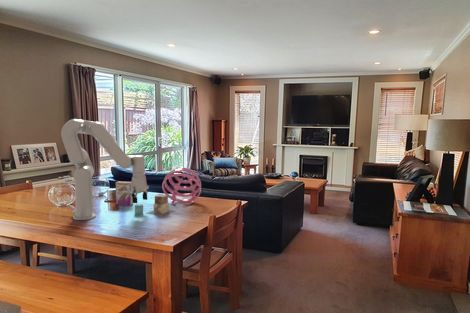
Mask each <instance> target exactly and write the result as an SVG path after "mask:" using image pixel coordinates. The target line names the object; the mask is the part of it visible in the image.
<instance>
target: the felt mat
mask: <svg viewBox="0 0 470 313" xmlns="http://www.w3.org/2000/svg"><path fill="white" fill-rule="evenodd" d="M175 212H176V210H174V209H169V212H166V213H164V214H159V213H154V209H153V210H151V211H148V212H146V213H145V214H148V215H153V216H161V217H165V216H167V215H170V214H172V213H175Z"/></svg>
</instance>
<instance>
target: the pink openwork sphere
mask: <svg viewBox="0 0 470 313" xmlns="http://www.w3.org/2000/svg"><path fill="white" fill-rule="evenodd" d="M183 172H186V173H183ZM187 173H189V174H187ZM173 177H174V178H175V180H176V181H178V182H177V183H176V182H174V180H173ZM180 177H181V178H180ZM184 177H185V178H187V179H184ZM167 180H168V182H169V184H170V185H171V186H172V187H173V188H174V189H172V188H171V187H170V186H169V185H168V183H167ZM193 181H194V182H195V183H194V184H193ZM181 184H190V186H181ZM161 186H162V191H163V193H164V195H168V198H169V199H170V201H171V204H172V205H173V206H176V205H177V204H178V203H181V205H183V206H190V205H192V204H193V203H194V202H195V200H196V199H198V197H200V195H201V193H202V181H201V179H200V177H199V176H198V174H197V173H196V172H195V171H194V170H192V169H190V168H188V167H176V168H174V169H172V170H171V171H169V172H167V174H166V175H165V177H164V179H163V181H162V185H161ZM196 187H198V188H197V189H196ZM195 189H196V190H195ZM166 190H167V191H168V192H170V194H171V195H170V194H169V193H168V192H167V191H166ZM179 190H180V191H191V192H190V193H181V192H178V191H179ZM177 197H181V198H188V199H180V198H177ZM189 197H191V198H189Z"/></svg>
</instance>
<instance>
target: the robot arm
mask: <svg viewBox="0 0 470 313" xmlns="http://www.w3.org/2000/svg"><path fill="white" fill-rule="evenodd" d="M78 134H83V135H91V136H92V137H93V138H94V139H95V140H96V141H97V142H98V143H99V145H101V147H102V148H103V149H104V150H105V151H106V152H107V154H108V155H109V157H110V158H111V159H112V160H113V161H114V162H115V163H116V165H118V166H119V167H120V168H122V169H124V170H125V169H129V168H130V167H132V177H131V181H130V182H131V190H130V194H131V196H132V199H133V204H138V197H137V196H138V194H141V193H142V200H146V201H147V200H148V194H149V193H148V192H149V188H150V185H148V184H147V183H148V182H147V177H146V165H145V160H146V159H145V156H144V155H142V154H136V155H130V154H129V155H127V154H126V152H124V151H123V149H122V148H121V147H120V144H119V143H118V141H117V140H116V138H115V137H114V136H113V135H112V134H111V133H110V132H109V131H108V129H107V128H106V126H105V125H104V124H103V123H102V122H100V121H91V120H85V119H80V118H79V119H77V118H71V119H70V120H68V121H66V122H65V124H64V125H63V126H62V128H61V132H60V136H61V141H62V142H63V146H64V149H65V152H66V154H67V157H68V160H69V162H70V163H71V164H72V165H74V168H75V170H74V173H73V181H74V182H73V184H74V199H75V204H74V205H75V209H73V210H72V214H74V215H73V216H72V219H73V220H74V221H87V220H91V219H94V218H95V217H96V213H94V212H93V210H94V209H93V208H94V206H93V205H94V204H93V203H94V202H93V200H94V198H93V180H92V179H93V178H92V177H93V176H94V174H95V170H94V167H93V162H92V161H91V159H90V155H89V153H88V152H87V150H85V149H84V148H83V147H82V145H81V141H80V139H79V137H78Z"/></svg>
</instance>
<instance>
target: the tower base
mask: <svg viewBox="0 0 470 313" xmlns="http://www.w3.org/2000/svg"><path fill="white" fill-rule="evenodd" d="M169 208H170V202H169V201H168V203H165V204H163V205H162V204H155V202H154V203H153V210H154V213H159V214H164V213H166V212H169V210H170V209H169Z"/></svg>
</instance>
